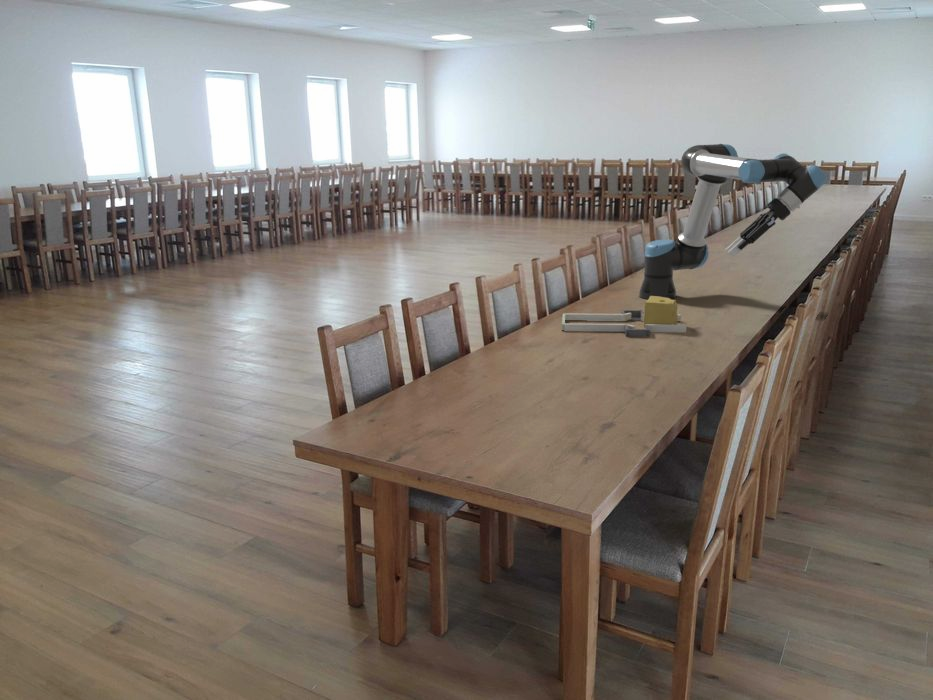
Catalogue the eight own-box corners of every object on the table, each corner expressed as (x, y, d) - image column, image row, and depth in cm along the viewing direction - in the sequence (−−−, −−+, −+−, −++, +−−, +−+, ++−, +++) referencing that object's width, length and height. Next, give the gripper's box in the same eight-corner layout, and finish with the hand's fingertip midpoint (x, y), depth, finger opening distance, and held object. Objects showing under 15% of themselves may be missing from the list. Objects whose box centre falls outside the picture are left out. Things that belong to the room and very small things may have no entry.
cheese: (677, 324, 274) (678, 297, 271) (672, 331, 264) (673, 303, 261) (648, 321, 278) (649, 295, 275) (642, 329, 269) (643, 301, 266)
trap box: (562, 315, 290) (563, 309, 289) (677, 316, 284) (678, 310, 283) (561, 335, 262) (561, 328, 262) (688, 337, 256) (689, 330, 255)
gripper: (798, 215, 246) (741, 265, 253) (784, 210, 262) (731, 257, 269) (782, 199, 245) (726, 250, 252) (769, 194, 261) (717, 242, 268)
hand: (729, 253), depth 260 cm, fingers open, 4 cm apart
